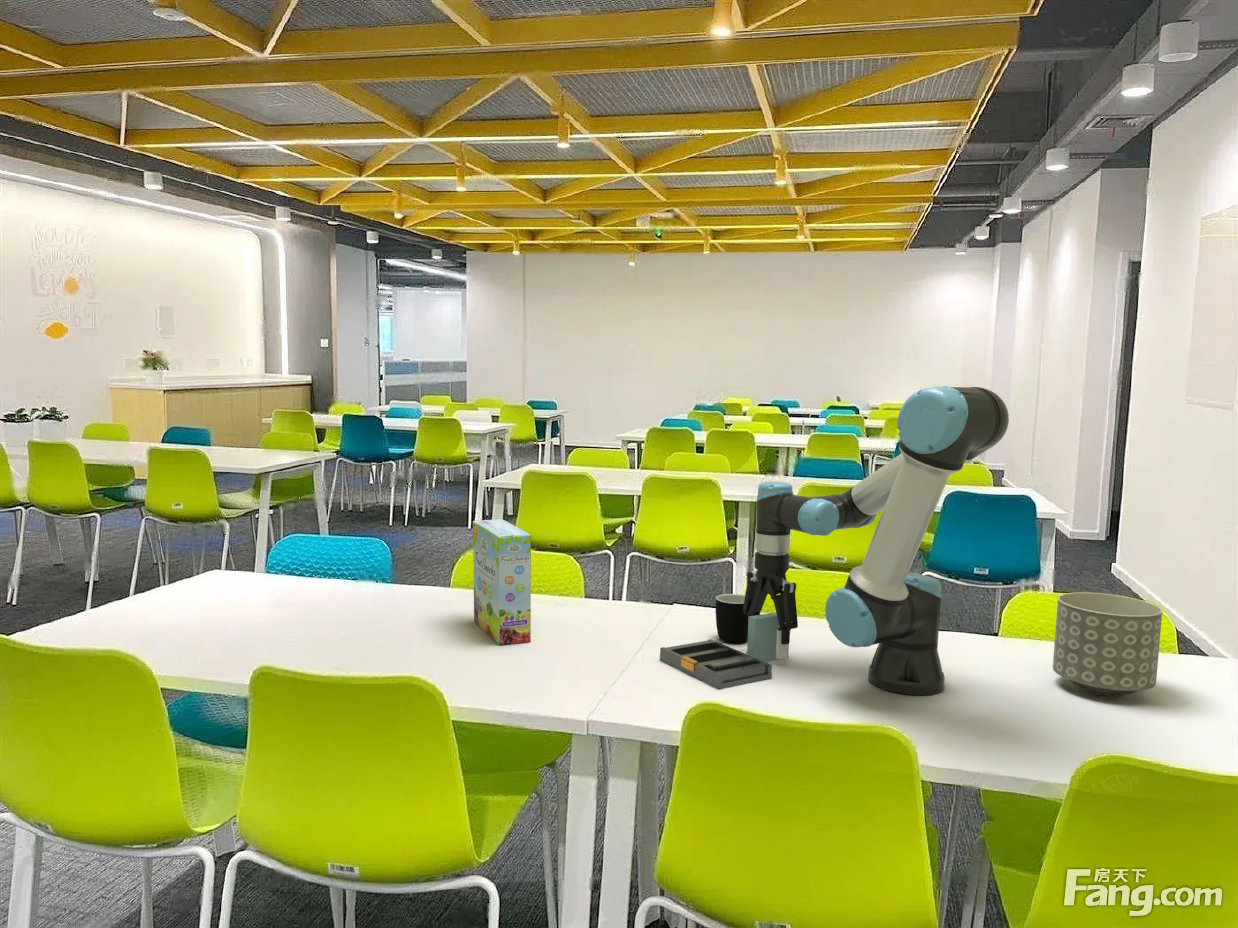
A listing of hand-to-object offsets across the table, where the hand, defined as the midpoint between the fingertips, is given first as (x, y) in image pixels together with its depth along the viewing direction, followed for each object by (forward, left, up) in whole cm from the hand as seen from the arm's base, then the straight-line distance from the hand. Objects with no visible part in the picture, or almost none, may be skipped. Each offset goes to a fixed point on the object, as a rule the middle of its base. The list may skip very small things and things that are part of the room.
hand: (768, 651), depth 207 cm
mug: (+16, -3, -2) cm, 16 cm away
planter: (-48, -49, -2) cm, 69 cm away
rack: (0, +15, -2) cm, 15 cm away
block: (0, 0, -2) cm, 2 cm away
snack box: (+46, +44, -2) cm, 64 cm away
